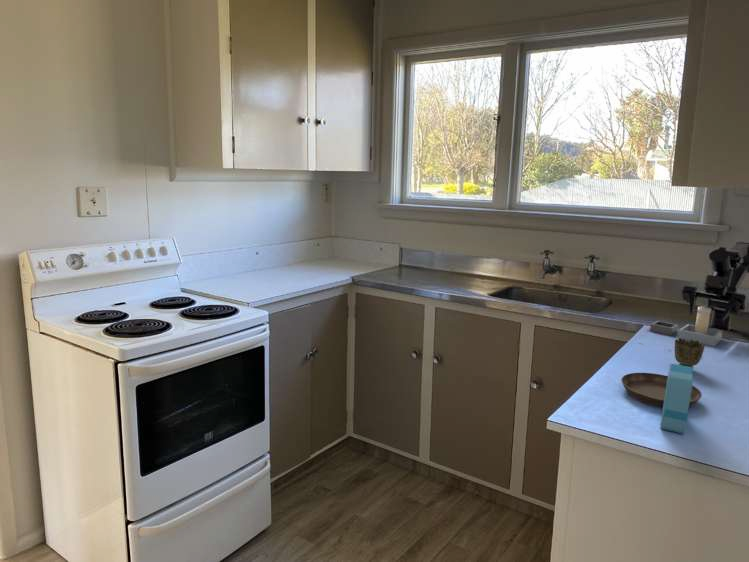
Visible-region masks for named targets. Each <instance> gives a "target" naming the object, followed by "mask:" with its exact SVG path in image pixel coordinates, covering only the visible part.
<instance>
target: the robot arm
mask: <svg viewBox="0 0 749 562" xmlns="http://www.w3.org/2000/svg"><path fill="white" fill-rule="evenodd" d="M708 258H709V262H710V263H709V264H710V268H711V269H710V270H712V273H711V275H710V274H706V277H705V280H704V289H703V290H704V291H701V290H698V288H697V286H693V285H686V284H685V285H683V286H682V289H681V295H682V300H684V301H685V302H687V303H689V312H690V313H689V315H690V316H693V314H694V311H695V308H696V305H697V299H698V298H700V299H701V298H702V299H707V307H709V308H711V311H712V316H711V322H710V324H708V328H710V329H715V330H720V331H727V332H729V331H730V330H731V329H732V328H733V327H732V326H730V324H731V320H732V316H733V315H734V316H735V315H739V312H740V311H745V310H746V308H747V305H748V304H747V303H748V301H747V300H748V299H747V295H746V294H744V293H739V292H738V290H739V288H740V287H741V284H742V283H743V281H744V279H745V278H746V276H747V274H749V242H746V241H737V242H736V244H735V245H734V246H732V247H731V248H729V249H728V248H727V247H722V246H719V247H718V248H717V249H714V250H712V251H711V252H710V253H709V255H708Z"/></svg>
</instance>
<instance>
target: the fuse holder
mask: <svg viewBox="0 0 749 562" xmlns="http://www.w3.org/2000/svg"><path fill="white" fill-rule="evenodd" d="M645 332H648V333H653V334H658V335H663V336H666V337H671V338H675V337H678V333H679V324H675V323H671V322H666V321H662V320H656V321H654V322H652V323H650V326H649V328H648V329H647V330H645Z"/></svg>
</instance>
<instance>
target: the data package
mask: <svg viewBox="0 0 749 562" xmlns="http://www.w3.org/2000/svg"><path fill="white" fill-rule="evenodd" d="M693 369H694V367H693V368H692V367H688V366H682V365H679V364H675V363H669V367H668V374H667V376H668V379H667V385H666V392H665V398H664V405H663V407H662V413H661V419H660V420H661V421H660V429H661V430H664V431H665V430H666V431H668V432H674V433H678V434H683V435H684V434H685V431H686V426H687V425H686V424H687V420H688V413H689V408H690V406H689V403H690V397H691V391H692V385H693V384H694V381H693V380H694V373H693V371H694V370H693Z"/></svg>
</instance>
